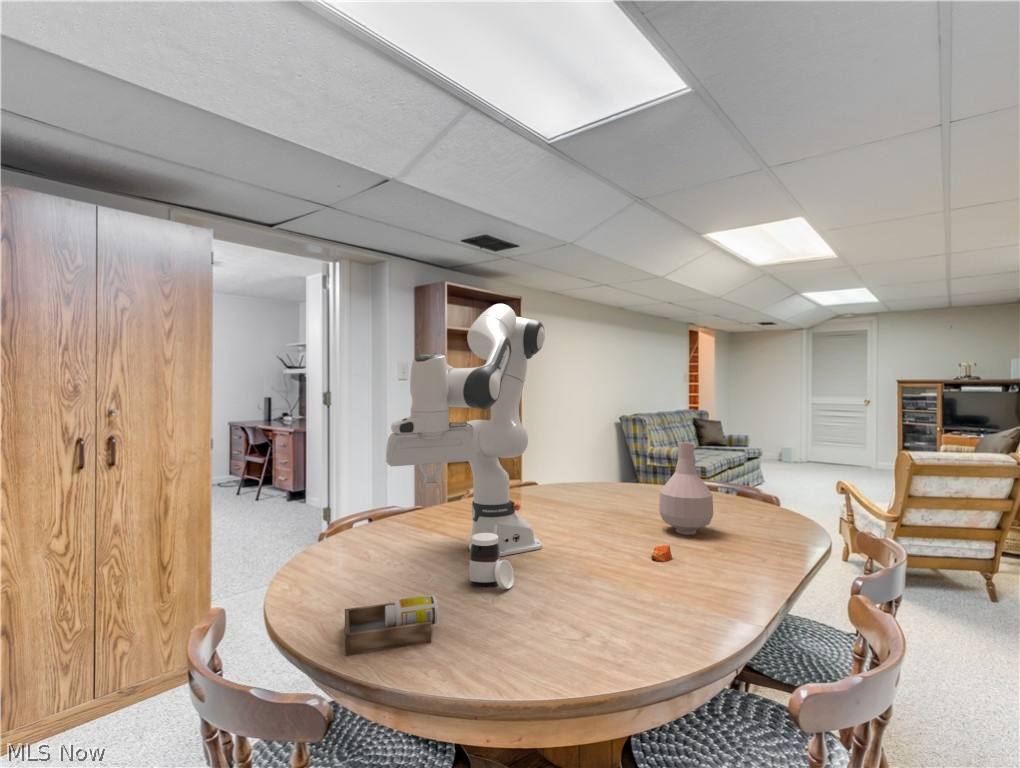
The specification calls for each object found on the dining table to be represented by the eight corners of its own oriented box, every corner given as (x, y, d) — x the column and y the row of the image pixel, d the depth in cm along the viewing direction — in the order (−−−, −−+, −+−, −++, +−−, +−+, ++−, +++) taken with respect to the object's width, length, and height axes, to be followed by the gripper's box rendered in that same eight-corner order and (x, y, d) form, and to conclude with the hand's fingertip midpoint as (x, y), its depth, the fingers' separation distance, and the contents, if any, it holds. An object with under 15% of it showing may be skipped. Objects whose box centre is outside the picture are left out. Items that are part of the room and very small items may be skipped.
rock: (634, 563, 148) (633, 548, 148) (646, 551, 159) (646, 537, 159) (677, 570, 142) (677, 554, 142) (686, 557, 153) (686, 543, 153)
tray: (422, 616, 113) (421, 599, 113) (431, 642, 102) (431, 623, 102) (344, 627, 108) (344, 609, 108) (345, 656, 97) (345, 635, 97)
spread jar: (471, 574, 138) (471, 530, 138) (514, 575, 137) (514, 531, 137) (466, 593, 126) (466, 545, 126) (513, 593, 125) (513, 545, 125)
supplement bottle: (432, 598, 112) (384, 604, 109) (436, 592, 108) (386, 598, 104) (435, 626, 109) (385, 633, 106) (439, 621, 105) (387, 628, 101)
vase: (718, 529, 179) (718, 442, 179) (707, 542, 165) (707, 447, 164) (667, 522, 189) (667, 439, 189) (652, 534, 174) (652, 444, 174)
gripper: (470, 420, 128) (470, 476, 128) (384, 424, 121) (385, 483, 121) (476, 422, 122) (477, 481, 122) (387, 426, 115) (388, 489, 115)
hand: (431, 482), depth 122 cm, fingers closed
